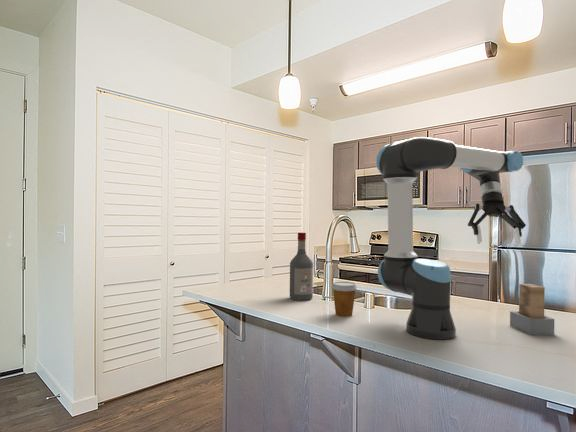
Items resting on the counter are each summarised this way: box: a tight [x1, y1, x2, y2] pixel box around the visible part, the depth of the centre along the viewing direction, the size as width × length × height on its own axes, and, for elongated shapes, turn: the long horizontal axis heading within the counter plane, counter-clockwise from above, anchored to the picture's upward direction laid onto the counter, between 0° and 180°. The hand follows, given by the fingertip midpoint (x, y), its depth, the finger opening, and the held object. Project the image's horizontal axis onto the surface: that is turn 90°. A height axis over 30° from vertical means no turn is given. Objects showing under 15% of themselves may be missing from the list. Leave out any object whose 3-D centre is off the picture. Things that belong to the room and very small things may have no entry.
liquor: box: [289, 232, 314, 302], centre depth 171 cm, size 9×9×30 cm
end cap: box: [509, 310, 555, 336], centre depth 128 cm, size 10×8×5 cm
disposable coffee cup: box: [331, 281, 358, 318], centre depth 144 cm, size 10×10×12 cm
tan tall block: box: [518, 283, 546, 318], centre depth 128 cm, size 6×4×14 cm
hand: (498, 243), depth 142 cm, fingers open, 13 cm apart
